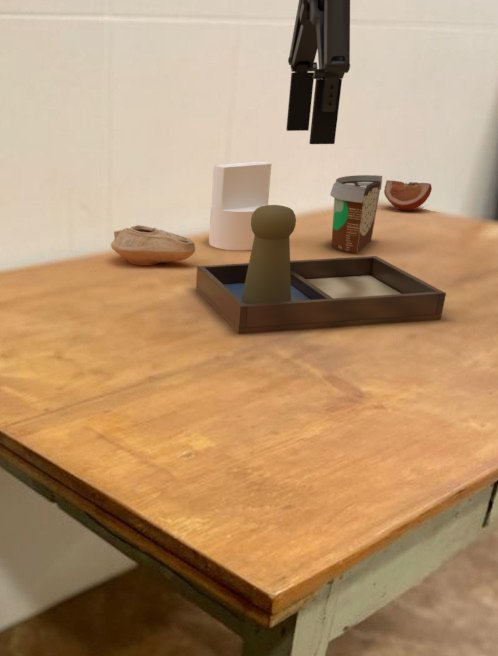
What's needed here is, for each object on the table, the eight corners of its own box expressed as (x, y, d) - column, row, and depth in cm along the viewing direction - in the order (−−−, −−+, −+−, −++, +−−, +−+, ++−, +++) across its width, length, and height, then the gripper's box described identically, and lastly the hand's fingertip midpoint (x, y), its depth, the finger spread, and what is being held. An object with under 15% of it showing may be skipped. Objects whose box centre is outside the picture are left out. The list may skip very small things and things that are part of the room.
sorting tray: (371, 281, 111) (375, 255, 109) (440, 322, 96) (446, 293, 94) (195, 292, 107) (196, 265, 105) (238, 337, 92) (240, 306, 90)
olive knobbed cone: (280, 310, 97) (290, 213, 91) (233, 303, 99) (240, 208, 93) (298, 297, 101) (308, 204, 95) (252, 290, 104) (259, 199, 98)
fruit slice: (376, 209, 153) (380, 181, 151) (390, 204, 158) (394, 176, 155) (419, 214, 149) (425, 185, 146) (432, 209, 154) (437, 180, 151)
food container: (335, 237, 134) (343, 172, 129) (372, 241, 131) (383, 175, 126) (313, 254, 124) (322, 184, 119) (354, 258, 122) (364, 187, 117)
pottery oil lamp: (183, 273, 114) (161, 229, 110) (119, 289, 122) (96, 248, 118) (208, 239, 118) (187, 195, 114) (145, 256, 126) (123, 215, 122)
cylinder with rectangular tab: (245, 237, 135) (251, 158, 128) (276, 248, 128) (284, 166, 121) (198, 242, 131) (201, 162, 125) (227, 254, 124) (233, 170, 118)
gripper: (275, -69, 98) (260, 125, 109) (323, -94, 77) (299, 150, 88) (337, -69, 98) (316, 125, 109) (402, -95, 77) (368, 150, 88)
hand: (308, 137), depth 99 cm, fingers open, 13 cm apart
